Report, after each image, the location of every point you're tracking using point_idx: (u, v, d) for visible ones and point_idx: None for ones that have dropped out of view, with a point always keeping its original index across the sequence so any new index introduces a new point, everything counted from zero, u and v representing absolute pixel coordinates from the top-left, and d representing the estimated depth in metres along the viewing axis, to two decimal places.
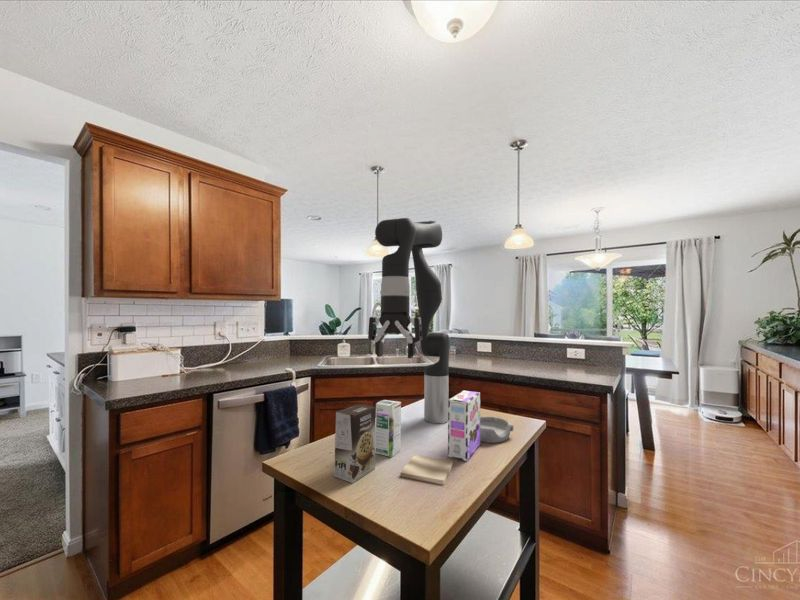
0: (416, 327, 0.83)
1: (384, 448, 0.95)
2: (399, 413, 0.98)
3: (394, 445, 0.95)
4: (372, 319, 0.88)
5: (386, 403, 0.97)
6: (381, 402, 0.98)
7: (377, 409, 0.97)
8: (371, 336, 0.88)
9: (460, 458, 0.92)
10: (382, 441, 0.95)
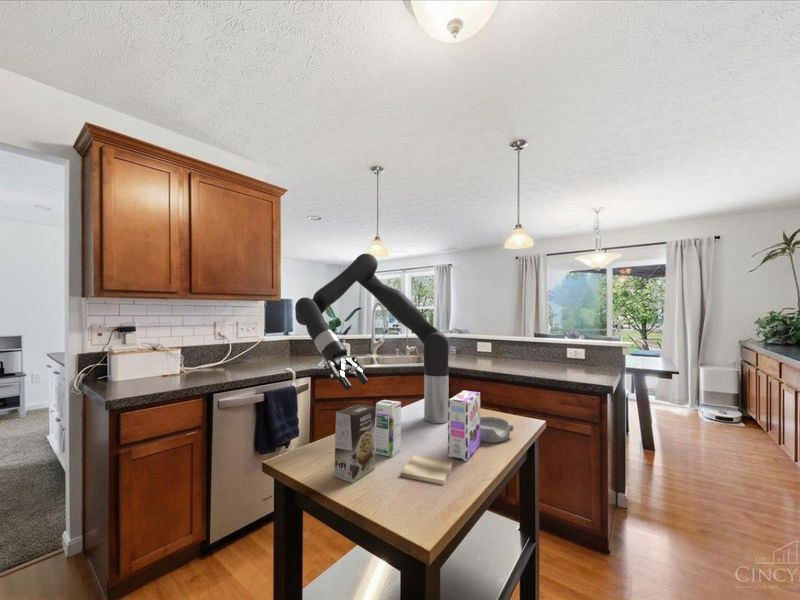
0: (358, 361, 1.12)
1: (384, 448, 0.95)
2: (399, 413, 0.98)
3: (394, 445, 0.95)
4: (330, 361, 1.02)
5: (386, 403, 0.97)
6: (381, 402, 0.98)
7: (377, 409, 0.97)
8: (337, 373, 1.00)
9: (460, 458, 0.92)
10: (382, 441, 0.95)
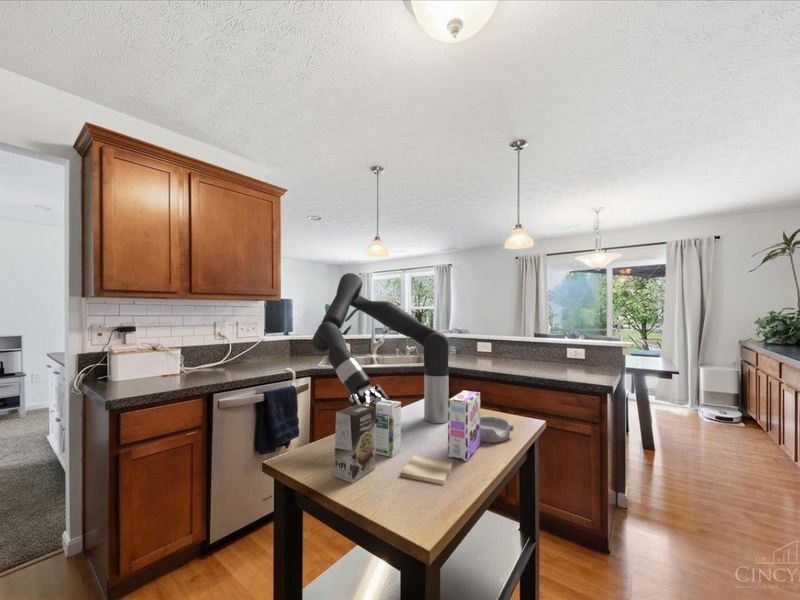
0: (381, 390, 1.07)
1: (384, 448, 0.95)
2: (399, 413, 0.98)
3: (394, 445, 0.95)
4: (355, 395, 0.97)
5: (386, 403, 0.97)
6: (381, 402, 0.98)
7: (377, 409, 0.97)
8: None
9: (460, 458, 0.92)
10: (382, 441, 0.95)
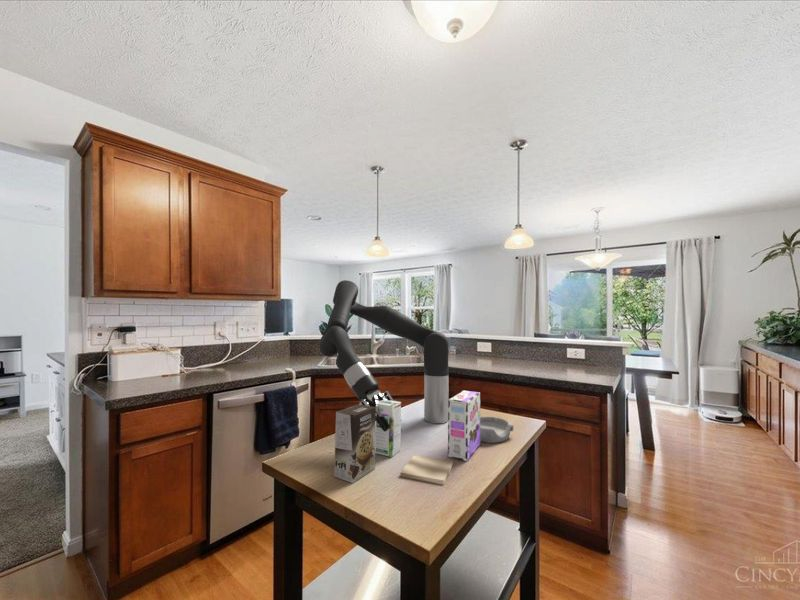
0: (390, 397, 1.05)
1: (384, 448, 0.95)
2: (399, 413, 0.98)
3: (394, 445, 0.95)
4: (365, 401, 0.95)
5: (386, 403, 0.97)
6: (381, 402, 0.98)
7: None
8: None
9: (460, 458, 0.92)
10: (382, 441, 0.95)
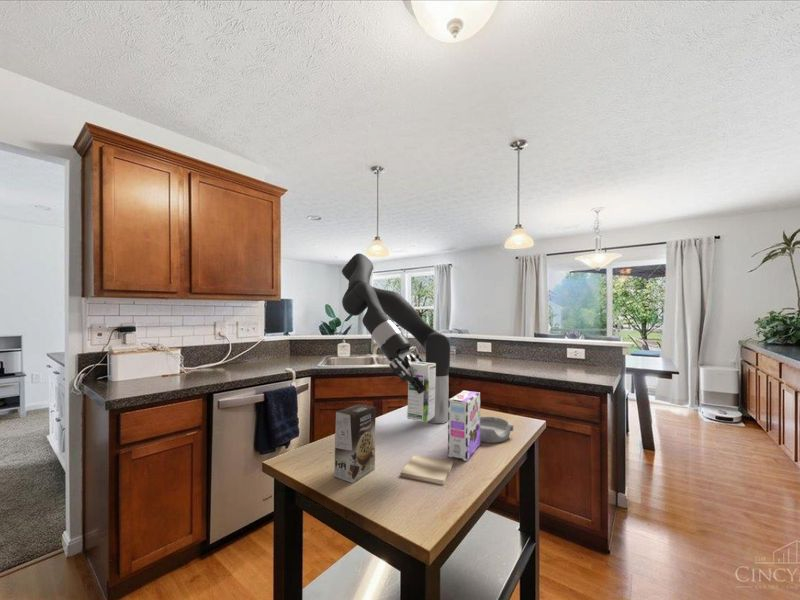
0: (422, 360, 0.95)
1: (418, 413, 0.85)
2: (434, 375, 0.89)
3: (429, 410, 0.86)
4: (397, 359, 0.85)
5: (420, 363, 0.87)
6: (414, 362, 0.88)
7: None
8: (409, 373, 0.84)
9: (460, 458, 0.92)
10: (416, 405, 0.86)
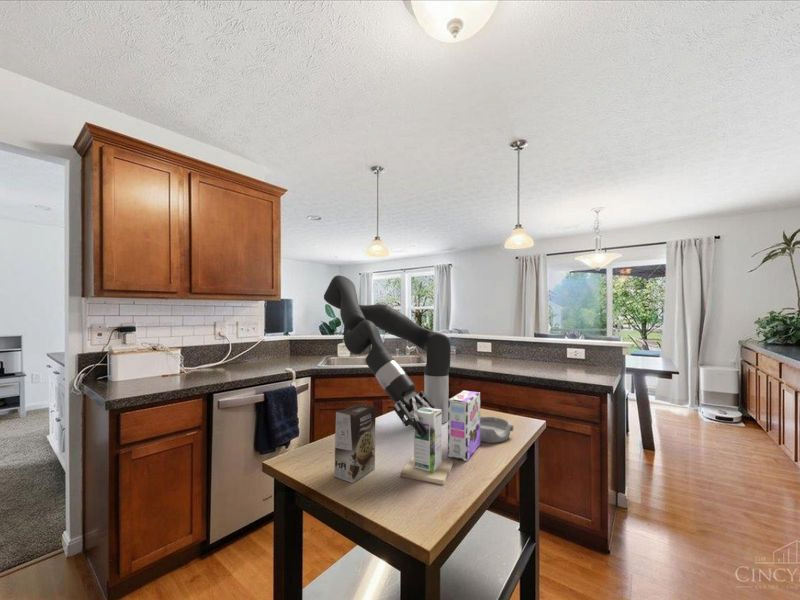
0: (426, 398, 0.94)
1: (424, 462, 0.84)
2: (440, 422, 0.87)
3: (436, 459, 0.84)
4: (401, 402, 0.84)
5: (426, 411, 0.86)
6: (420, 410, 0.87)
7: None
8: (411, 417, 0.82)
9: (460, 458, 0.92)
10: (422, 454, 0.84)
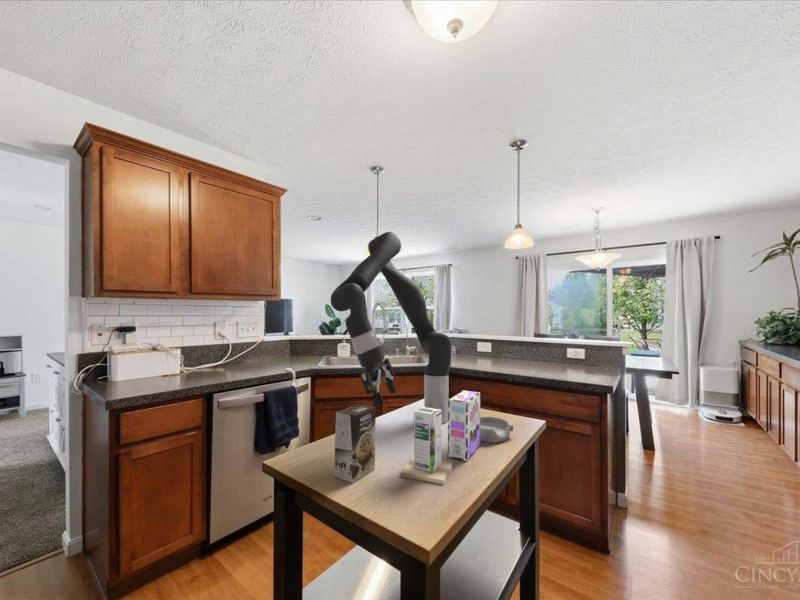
0: (390, 366, 1.05)
1: (424, 462, 0.84)
2: (440, 422, 0.87)
3: (436, 459, 0.84)
4: (368, 374, 0.94)
5: (426, 411, 0.86)
6: (420, 410, 0.87)
7: (416, 417, 0.86)
8: (374, 389, 0.94)
9: (460, 458, 0.92)
10: (422, 454, 0.84)
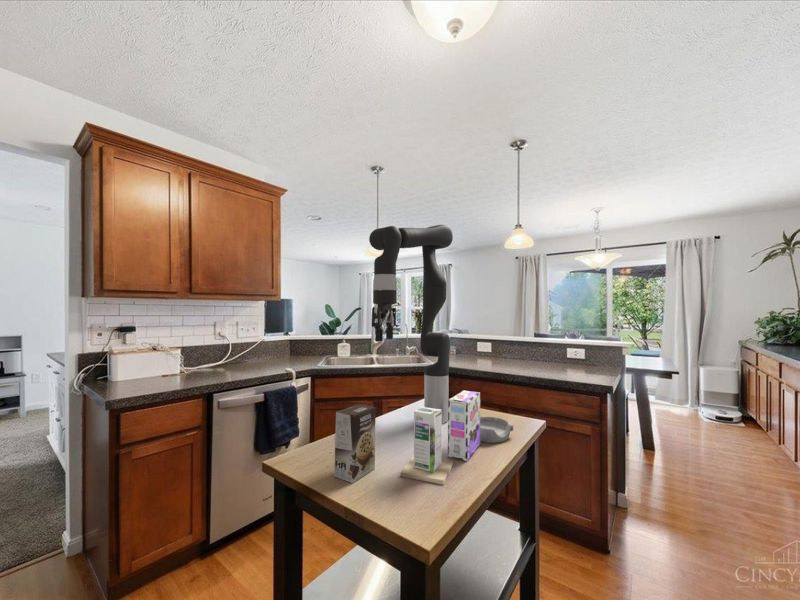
0: (395, 315, 1.12)
1: (424, 462, 0.84)
2: (440, 422, 0.87)
3: (436, 459, 0.84)
4: (380, 309, 1.00)
5: (426, 411, 0.86)
6: (420, 410, 0.87)
7: (416, 417, 0.86)
8: (380, 324, 1.00)
9: (460, 458, 0.92)
10: (422, 454, 0.84)
